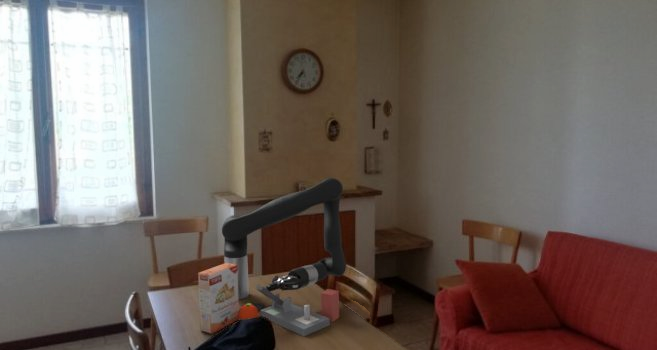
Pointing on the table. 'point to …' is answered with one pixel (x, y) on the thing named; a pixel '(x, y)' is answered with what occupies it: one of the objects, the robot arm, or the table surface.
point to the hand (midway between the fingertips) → (267, 288)
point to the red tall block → (330, 304)
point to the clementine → (248, 311)
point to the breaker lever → (270, 295)
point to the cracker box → (218, 297)
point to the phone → (258, 306)
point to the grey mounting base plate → (295, 317)
